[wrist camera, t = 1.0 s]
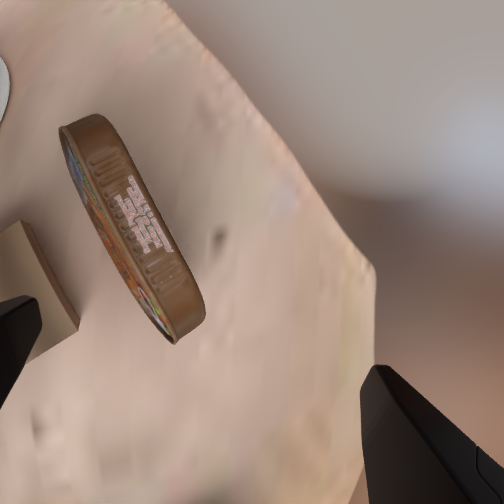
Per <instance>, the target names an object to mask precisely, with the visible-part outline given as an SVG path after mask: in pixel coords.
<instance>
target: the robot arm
mask: <svg viewBox="0 0 504 504" xmlns="http://www.w3.org/2000/svg"><path fill="white" fill-rule="evenodd" d="M42 326H43V322H42V317H41V313H40V308H39V303H38V301H37V299H36V298H34V297H32V296H29V295H21V296H18V297H15V298H12V299H9V300H6V301H3V302H0V409H1V407H2V405H3V404H4V402H5V400H6V398H7V396H8V394H9V393H10V391H11V389H12V387H13V385H14V384H15V382H16V380H17V378H18V377H19V375H20V373H21V371H22V369H23V367H24V365H25V363H26V361H27V359H28V357H29V355H30V353H31V350H32V348H33V346H34V344H35V342H36V340H37V338H38V336H39V334H40V332H41V330H42ZM360 408H361V436H362V449H363V457H364V464H365V472H366V479H367V488H368V497H369V504H504V468H503V467H501V466H500V465H499V464H497V462H495V461H494V460H493V459H492V458H490V456H489V455H487V454H486V453H485V452H484V451H483V450H482V449H481V448H480V447H479V446H476V444H475V443H474V442H473V441H472V440H471V439H470V438H469V437H468V436H466V435H465V434H464V433H463V432H462V431H461V430H460V429H459V428H458V427H457V426H455V425H454V424H453V423H452V422H451V421H450V420H449V419H448V418H446V417H445V416H444V415H443V414H442V413H441V412H440V411H439V410H438V409H436V407H434V406H433V405H432V404H431V403H430V402H429V401H428V400H427V399H426V398H424V397H423V396H422V395H421V394H420V393H419V392H418V391H417V390H416V389H414V388H413V387H412V386H411V385H410V384H409V383H408V382H407V381H405V380H404V379H403V378H402V377H401V376H400V375H399V374H397V372H395V371H394V370H393V369H392V368H391V367H390V366H388V365H378V364H376V365H373V366H372V367H371V369H370V371H369V373H368V375H367V377H366V379H365V381H364V383H363V384H362V387H361V390H360Z"/></svg>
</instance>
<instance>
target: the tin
mask: <svg viewBox="0 0 504 504" xmlns="http://www.w3.org/2000/svg"><path fill="white" fill-rule="evenodd" d="M59 138H60V142H61V146H62V150H63V153H64V156H65V160H66V163H67V166H68V169H69V172H70V175H71V177H72V180H73V182H74V184H75V187H76V189H77V191H78V193H79V196H80V198H81V200H82V202H83V204H84V206H85V208H86V210H87V212H88V214H89V216H90V219H91V220H92V222H93V224H94V226H95V228H96V230H97V232H98V234H99V236H100V238H101V240H102V242H103V243H104V245H105V247H106V249H107V251H108V253H109V255H110V256H111V258H112V260H113V262H114V264H115V266H116V267H117V269H118V271H119V273H120V274H121V276H122V278H123V279H124V281H125V283H126V285H127V286H128V288H129V290H130V291H131V293H132V294H133V296H134V297H135V299H136V300H137V302H138V303H139V305H140V306H141V308H142V309H143V311H144V312H145V314H146V315H147V316H148V318H149V319H150V320H151V321H152V323H153V324H154V325H155V326H156V328H157V329H158V330H159V331H160V332H161V333H162V334H163V335H164V337H165V338H166V339H167V340H168V341H169V342H170V343H171V344H174V345H175V344H176V343H177V342H178V340H179V339H181V338H182V337H183V336H185V335H186V334H188V333H189V332H191V331H192V330H193V329H195V328H196V327H197V326H199V325H200V324H201V323H202V322H203V321H204V319H205V315H206V310H205V304H204V301H203V297H202V295H201V292H200V290H199V287H198V285H197V283H196V281H195V279H194V277H193V275H192V273H191V271H190V269H189V267H188V265H187V263H186V262H185V260H184V258H183V256H182V254H181V252H180V250H179V249H178V247H177V245H176V243H175V241H174V239H173V237H172V235H171V234H170V232H169V230H168V228H167V226H166V224H165V222H164V220H163V219H162V217H161V215H160V213H159V211H158V209H157V207H156V205H155V203H154V202H153V200H152V198H151V196H150V194H149V192H148V190H147V188H146V186H145V184H144V182H143V180H142V178H141V176H140V174H139V172H138V170H137V168H136V166H135V164H134V162H133V160H132V158H131V157H130V155H129V152H128V150H127V148H126V147H125V145H124V143H123V141H122V139H121V138H120V136H119V134H118V133H117V131H116V130H115V128H114V127H113V125H112V124H111V123H110V122H109V121H108V120H107V119H106V118H105V117H104V116H102V115H100V114H92V115H89V116H87V117H84V118H82V119H80V120H78V121H76V122H73V123H71V124H69V125H67V126H61V127H60V128H59Z"/></svg>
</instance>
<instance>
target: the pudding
mask: <svg viewBox="0 0 504 504" xmlns="http://www.w3.org/2000/svg"><path fill="white" fill-rule="evenodd" d="M9 87H10V81H9V73H8V70H7V66H6V64H5V63H4V61H3V59H2V58H1V57H0V121H1V119H2V116H3V114H4V111H5V108H6V105H7V101H8V96H9Z"/></svg>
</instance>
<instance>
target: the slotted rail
mask: <svg viewBox="0 0 504 504" xmlns="http://www.w3.org/2000/svg"><path fill="white" fill-rule="evenodd" d="M21 295H29V296H32V297H34V298H36V299H37V301H38V303H39V308H40V313H41V317H42V322H43V326H42V330H41V332H40V334H39V336H38V338H37V340H36V342H35V344H34V346H33V348H32V350H31V353H30V355H29V357H28V359H27V361H26V363H25V364H27V363H28V362H30V361H31V360H33V359H34V358H36V357H38V356H39V355H41V354H42V353H44V352H45V351H47V350H49V349H50V348H52V347H53V346H55V345H56V344H58V343H60V342H61V341H63V340H64V339H66V338H67V337H69V336H71V335H72V334H74V333H75V332H77V331H78V329H79V325H80V319H79V318H78V316H77V314H76V313H75V311H74V310H73V308H72V306H71V304H70V303H69V301H68V299H67V298H66V296H65V294H64V292H63V291H62V289H61V287H60V285H59V283H58V281H57V280H56V278H55V276H54V274H53V272H52V270H51V268H50V266H49V264H48V262H47V260H46V258H45V256H44V254H43V252H42V250H41V248H40V246H39V244H38V242H37V240H36V238H35V236H34V233H33V231H32V229H31V227H30V224H29V223H26V222H23V221H21V220H19V221H17V222H16V223H14V224H13V225H11V226H10V227H8V228H7V229H5V230H4V231H2V232H1V233H0V302H3V301H6V300H9V299H12V298H15V297H18V296H21Z"/></svg>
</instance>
